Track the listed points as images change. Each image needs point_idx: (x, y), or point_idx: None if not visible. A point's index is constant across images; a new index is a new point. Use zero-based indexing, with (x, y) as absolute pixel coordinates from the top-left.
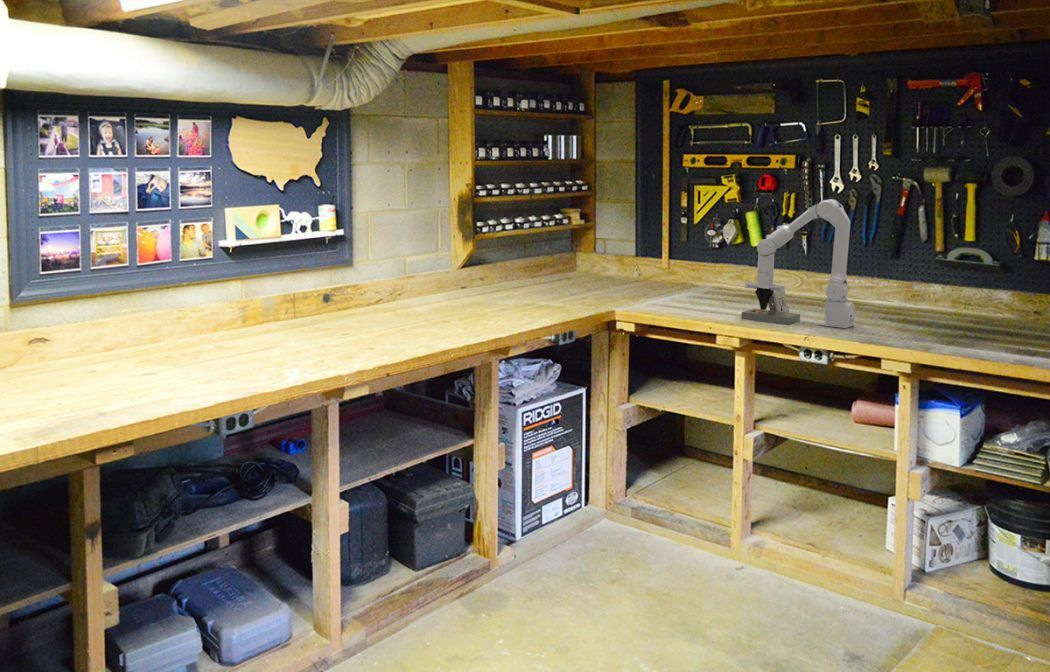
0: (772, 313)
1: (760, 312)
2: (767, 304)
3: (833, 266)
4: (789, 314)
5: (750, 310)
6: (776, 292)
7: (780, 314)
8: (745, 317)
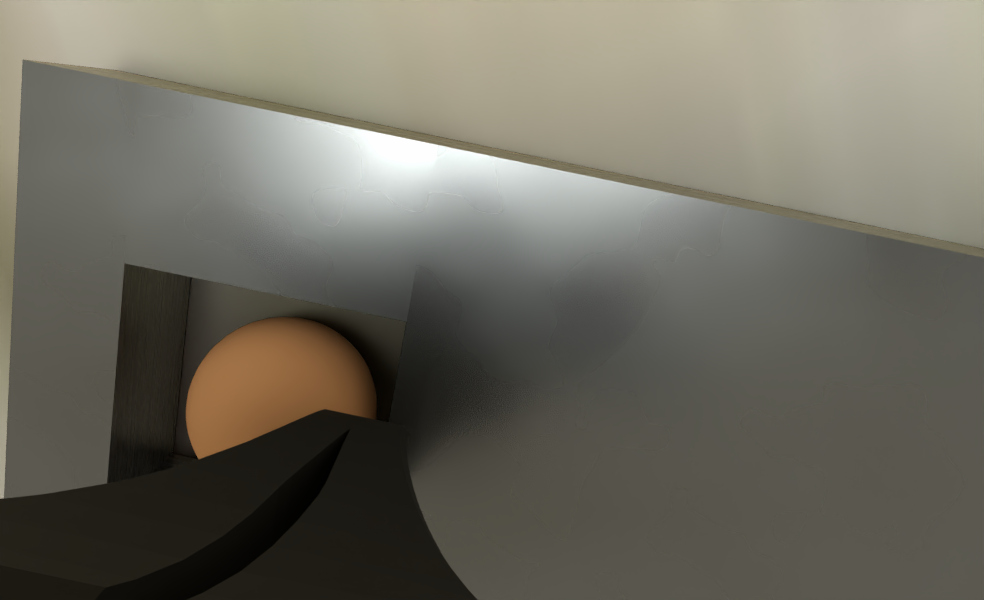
0: (591, 518)
1: None
2: (406, 474)
3: None
4: (969, 470)
5: (56, 370)
6: None
7: (777, 559)
8: None
